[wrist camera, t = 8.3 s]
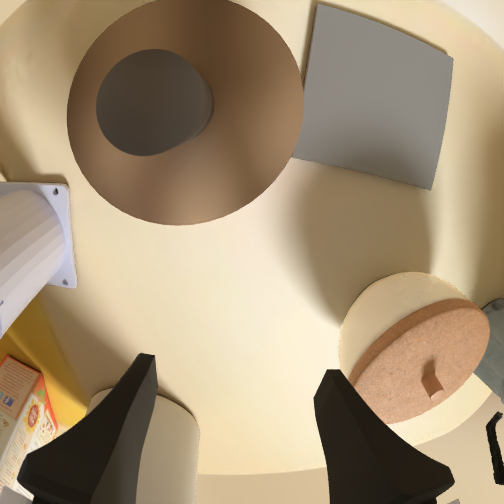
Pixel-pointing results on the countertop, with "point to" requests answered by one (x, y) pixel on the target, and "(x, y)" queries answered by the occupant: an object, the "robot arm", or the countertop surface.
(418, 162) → the mat
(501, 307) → the moka pot
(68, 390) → the countertop surface
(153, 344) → the countertop surface
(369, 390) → the lidded jar
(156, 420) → the cylinder vase
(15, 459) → the cracker box
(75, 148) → the lid
